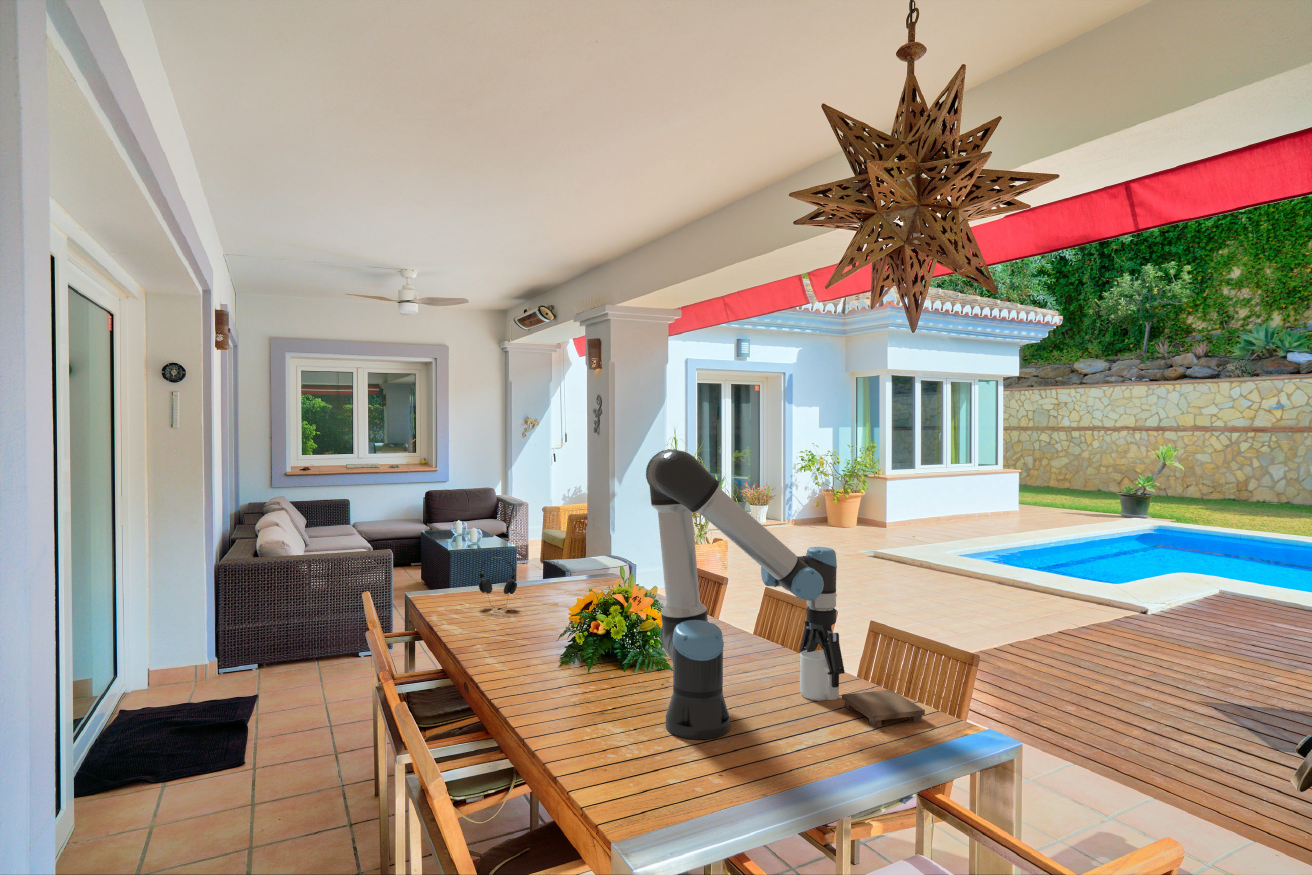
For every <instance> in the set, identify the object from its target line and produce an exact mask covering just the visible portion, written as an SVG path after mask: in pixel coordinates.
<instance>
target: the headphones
mask: <svg viewBox="0 0 1312 875" xmlns="http://www.w3.org/2000/svg"><path fill="white" fill-rule="evenodd" d="M493 559H499V560H503V561H505V562H506V563H508V564H509V566H510V567H511V570H512V573H513V574H511V576H510V577H511V578H508V580H507V582H506V583H505V585H504V588H503V594H504V595H509V594H510V595H513V594H514V593H515V592H516V591H517V587H518V583H517V582H516V581H515V580H516V574H515V572H516V569H515V568H514V567H513V565H512V563H511V562H510V560H509V559H507V558H504V557H501V556H493V557H490V558H487V559H486V560H484V561H483V563H482V565H481V566H480V573H479V579H482V580H480V581H479V583H478V589H479V591H480V592H481V593H482V594H485V593H486V594H487V597H488V598H487V599H490V597H489V595H488V594H492V592H493V584H492V581H491V580H490V579H489V578H488V577H485V574H484V573H483V567H484V565H485V563H487V562H488V561H490V560H493ZM508 599H509V597H507V600H506V601H508ZM488 602H489V603H491V602H490V600H488ZM490 605H491V606H492V608H494V611H493V612H496V613H498V614H499V613H500V614H504V613H507V612H508V613H510V612H511V610H507V609H506V608H507V606H508V604H506V607H503V610H502V607H497V610H496V607H495V606H493V605H492V604H490ZM504 608H505V609H506V610H505V609H504ZM500 610H501V611H500ZM504 611H505V612H504ZM488 613H489V614H490V612H488Z"/></svg>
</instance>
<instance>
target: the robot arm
mask: <svg viewBox="0 0 1312 875" xmlns="http://www.w3.org/2000/svg"><path fill="white" fill-rule="evenodd" d="M645 479H646V481H647V483H648V486H649V495H650V503H651V504H650V506H651V507H653V509H655V510H656V511H657V514H658V515H657V516H658V525H659V526H658V528H659V537H660V549H661V560H662V571H663V581H664V592H665V594H664V595H665V603H666V604H665V605H664V607H663V608H662V609H661V612H660V613H661V614H660V615H661V627H660V641H661V645H662V648H663V649H664V652H666V653H667V655H668V656H669V658H670V660H671V662H672V665H673V666H672V671H673V673H672V681H673V682H672V684H673V685H672V686H673V687H672V695H671V699H670V701H669V705H668V708H667V711H666V714H665V728H666V730H667V731H668V732H669V733H671V734H673V735H675V736H677V737H679V738H680V737H681V738H684V739H689V740H690V739H691V740H709V739H710V740H711V739H716V738H719V737H722V736H724V735H725V734H727V733H728V732H729V731H730V729H731V717H730V714H729V709H728V706H727V703H726V700H725V697H724V691H723V690H724V689H723V685H724V679H723V678H724V676H723V675H724V645H725V644H724V643H725V642H724V636H723V631H722V629H721V628H720V627H719V626H718V625H717V624H716V623H713V622H709V620H708V619H709V617H708V608H707V607H706V605H705V604H704V603H702V602H701V598H700V596H701V595H700V588H699V576H698V565H697V564H698V563H697V554H696V553H697V552H696V542H695V530H694V519H693V514H700V515H701V516H702V517H703V518H704V519H706V520H707V521H708V522H709V523H710V524H712V525H713V527H715V528H716V529H717V530H718V531H719V532H721V534H723V535H724V536H725V537H727V538H728V539H729V540H730V541H731V542H732V543H734V545H736V546H737V547H738V548H739V549H740V550H742V551H743V552H744V553H745V554H747V556H749V557H750V558H751V559H752V560H753V561H754V562H756V563H757V564H758V565H759V566H760V574H761V575H760V576H761V580H762V582H763V584H764V585H765V586H766V587H773V588H777V587H781V588H783V589H784V590H786V591H788V592H790V593H791V594H792V595H794V596H795V597H796V598H797V599H799V600H803V601H806V606H807V608H806V620H805V621H804V630H803V633H802V637H801V643H800V647H799V652H800V653H801V652H802V651H806V650H807V652H813V651H815V650H817V647H818V645H819V646H820V648H821V649H822V651H824V654H825V658H826V661H827V664H828V668H829V671H830V672H828V673H827V674H828V699H829V701H831V700H839V699H840V675H842V674H845V666H844V662H843V657H842V651H841V645H840V633H839V632H833V630H832V629H833V627H832V626H833V625H835V624H836V623H837V609H836V606H837V597H838V595H837V568H838V567H837V566H838V565H837V553H836V551H835V550H834V549H833V548H831V547H828V546H827V547H826V546H813V547H811V546H810V547H809V548H807V549H806V554H805V555H801V556H800V555H799V556H797V554H796V553H795V552H793V551H792V550H791V549H790V548H788V546H786V544H784V542H782V541H781V540H779V539H778V537H776V536H775V535H774V534H773V533H772V532H770V531H769V530H768V529H767V528H766V527H765V526H763V525H762V524H761V522H759V521H758V520H756V518H754V517H753V516H752V515H751V514H750V513H749V512H748V511H746V510H745V509H744V508H743V507H742V506H741V505H740V504H739V503H737V502H736V501H735V500H734V499H733V498H731V497H730V496H729V495H728V494H727V493H726V492H725V491H724V490H722V488H721V482H720V481H719V480H718V479H716V478H715V477H714V475H712V474H711V473H710V472H709V471H708V470H707V468H706V467H704V466H703V465H702V464H701V463H700V461H699V460H698V459H697V458H696V457H694V455H692V454H690V453H689V452H686V451H684V450H678V449H675V448H674V449H673V448H667V449H662V450H661V451H658V452H657V453H656V454H654V455H653V456H652V457H651V458H650V459H649V461H648V463H647V465H646V469H645Z"/></svg>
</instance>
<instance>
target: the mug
mask: <svg viewBox="0 0 1312 875" xmlns="http://www.w3.org/2000/svg"><path fill="white" fill-rule="evenodd" d="M799 662H800V664H799V692H800V695H801V696H802V697H804V698H805V699H808V700H811V701H819V702H821V701H822V702H823V701H828V700H829V699H828V674H827V673H828V672H830V671H829V668H828V664H827V661H826V658H825V654H824V651H823V649H822V650H820V649H816V650H815V651H813V652H807V650H806V651H802V652H800V653H799ZM829 701H830V700H829Z"/></svg>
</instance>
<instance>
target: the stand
mask: <svg viewBox="0 0 1312 875" xmlns="http://www.w3.org/2000/svg"><path fill="white" fill-rule="evenodd" d="M841 700H842V701H843V702H844V708H846V710H848V711H853V710H856V711H858V712H859V713H861V714H862V715H864V716H865V717H867V719H868V725H869V726H870V727H872V728H874V729H876V728H882V721H887V720H894V719H903V718H909V721H911V722H913V723H915V724H916V723H922V722H923V721H922V719H923V716H925V715H926V709H924V708H923V707H921V706H920V705H917V704H916V703H914V702H912V701H910V700H909V699H907V698H906V697H904V696H903V695H900V694H899V693H897V692H896V691H894V690H892V689H885V690H882V689H881V690H874V691H873V690H872V691H864V692H855V693H853V692H852V693H846V694H841Z"/></svg>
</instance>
